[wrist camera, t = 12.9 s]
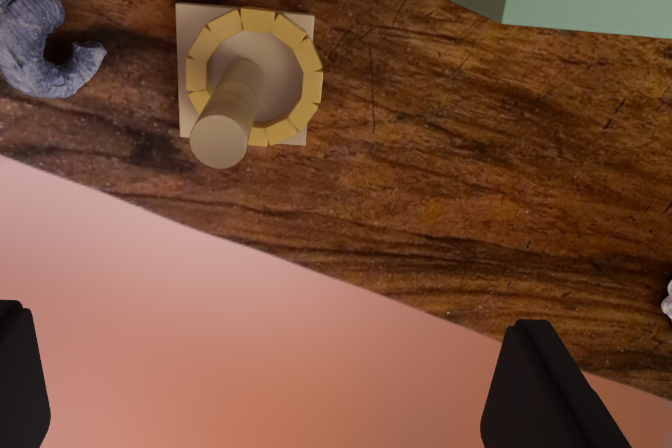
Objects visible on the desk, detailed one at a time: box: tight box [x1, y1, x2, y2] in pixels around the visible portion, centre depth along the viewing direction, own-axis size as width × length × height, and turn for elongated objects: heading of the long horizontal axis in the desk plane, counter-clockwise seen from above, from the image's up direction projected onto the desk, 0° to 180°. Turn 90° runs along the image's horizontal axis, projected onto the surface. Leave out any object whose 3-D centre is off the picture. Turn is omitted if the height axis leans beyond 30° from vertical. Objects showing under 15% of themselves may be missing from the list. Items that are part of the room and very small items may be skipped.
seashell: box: [0, 0, 107, 100], centre depth 31 cm, size 5×5×10 cm
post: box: [175, 2, 314, 169], centre depth 30 cm, size 8×8×13 cm
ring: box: [186, 6, 323, 147], centre depth 34 cm, size 8×8×1 cm
